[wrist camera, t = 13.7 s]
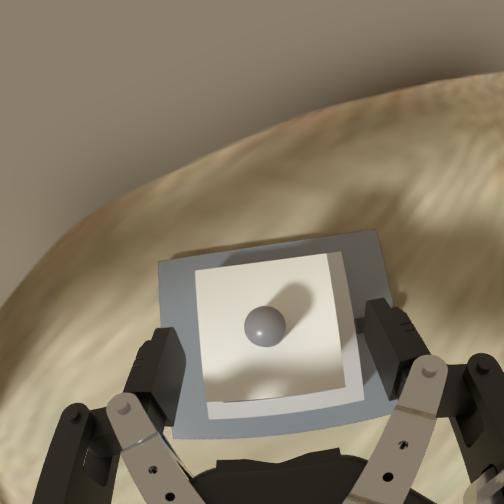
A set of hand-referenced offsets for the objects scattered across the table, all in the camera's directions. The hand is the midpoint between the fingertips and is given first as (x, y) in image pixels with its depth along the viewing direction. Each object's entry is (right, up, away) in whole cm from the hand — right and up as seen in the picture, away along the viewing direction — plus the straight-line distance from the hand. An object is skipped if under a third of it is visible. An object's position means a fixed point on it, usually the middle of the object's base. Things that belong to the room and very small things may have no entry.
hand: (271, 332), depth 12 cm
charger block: (+1, -2, +7) cm, 7 cm away
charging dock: (+1, -3, +8) cm, 9 cm away
